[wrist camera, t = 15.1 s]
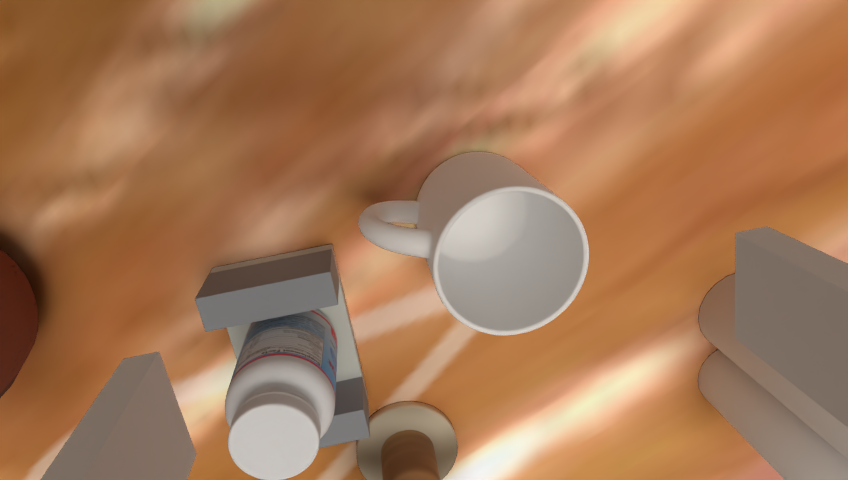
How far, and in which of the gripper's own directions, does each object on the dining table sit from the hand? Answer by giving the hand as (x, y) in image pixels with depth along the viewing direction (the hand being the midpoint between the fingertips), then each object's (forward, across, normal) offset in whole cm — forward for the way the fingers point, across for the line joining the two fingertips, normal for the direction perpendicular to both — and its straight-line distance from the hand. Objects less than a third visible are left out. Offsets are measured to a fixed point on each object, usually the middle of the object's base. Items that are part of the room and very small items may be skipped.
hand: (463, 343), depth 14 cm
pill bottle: (+26, -9, -12) cm, 30 cm away
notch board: (+27, -9, -12) cm, 31 cm away
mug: (+27, +3, -5) cm, 28 cm away
